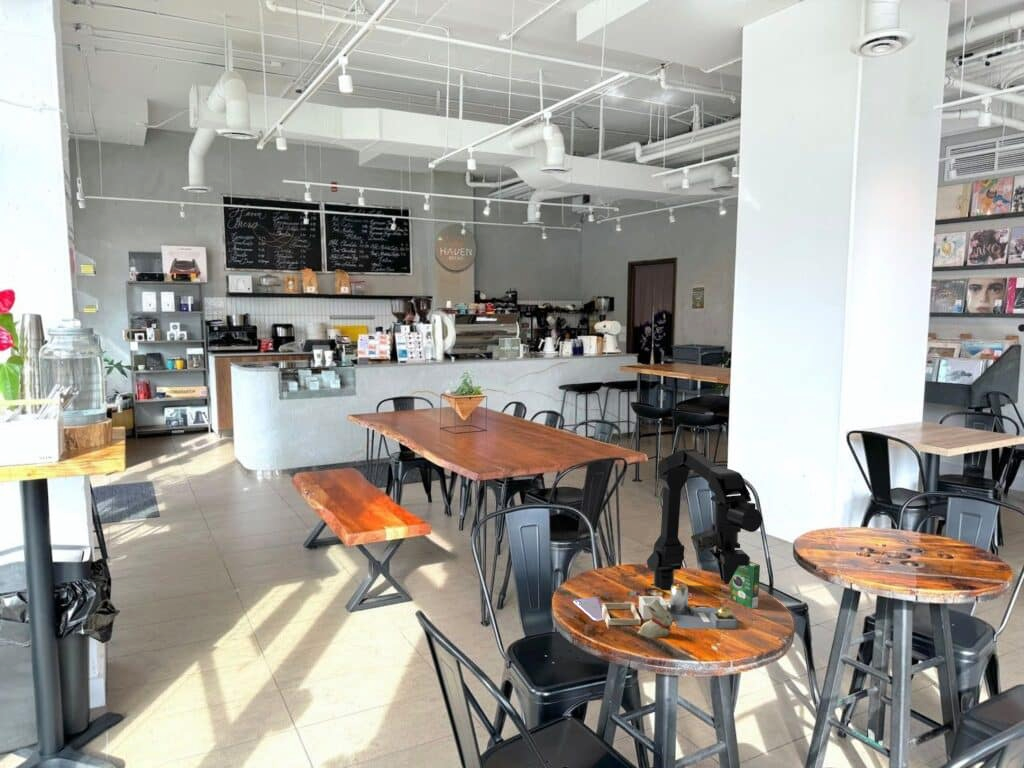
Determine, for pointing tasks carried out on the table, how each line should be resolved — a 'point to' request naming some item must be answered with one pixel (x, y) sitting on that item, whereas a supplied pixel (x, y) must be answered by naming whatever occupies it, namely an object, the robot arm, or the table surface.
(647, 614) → the cup
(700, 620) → the grey board with socket
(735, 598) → the coffee box
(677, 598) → the cylinder
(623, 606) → the beige shallow rectangular frame
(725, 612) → the button
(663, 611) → the chocolate bunny
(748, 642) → the table surface
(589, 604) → the mobile phone
